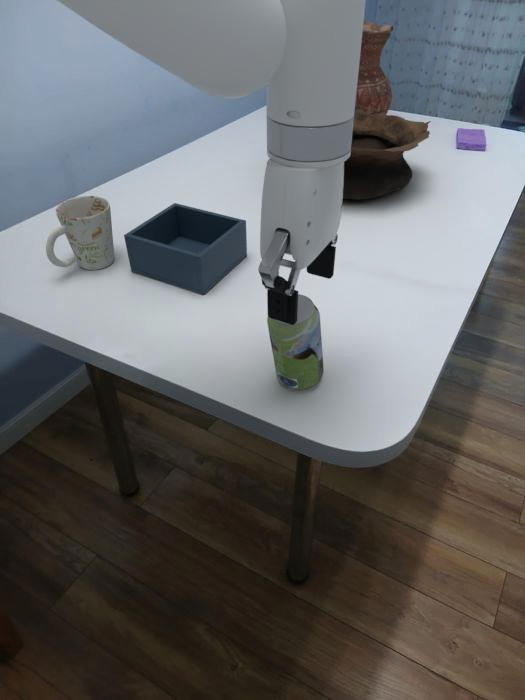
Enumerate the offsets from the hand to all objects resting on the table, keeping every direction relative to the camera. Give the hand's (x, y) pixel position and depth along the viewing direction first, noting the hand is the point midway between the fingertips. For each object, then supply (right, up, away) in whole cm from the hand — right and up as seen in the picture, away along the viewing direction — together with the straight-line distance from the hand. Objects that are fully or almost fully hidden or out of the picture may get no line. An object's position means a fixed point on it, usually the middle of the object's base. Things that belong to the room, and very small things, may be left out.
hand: (302, 296), depth 55 cm
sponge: (+51, +49, +76) cm, 104 cm away
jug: (+20, +57, +85) cm, 104 cm away
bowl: (+14, +33, +57) cm, 68 cm away
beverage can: (0, -10, +8) cm, 13 cm away
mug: (-34, +8, +29) cm, 46 cm away
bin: (-17, +9, +30) cm, 35 cm away
